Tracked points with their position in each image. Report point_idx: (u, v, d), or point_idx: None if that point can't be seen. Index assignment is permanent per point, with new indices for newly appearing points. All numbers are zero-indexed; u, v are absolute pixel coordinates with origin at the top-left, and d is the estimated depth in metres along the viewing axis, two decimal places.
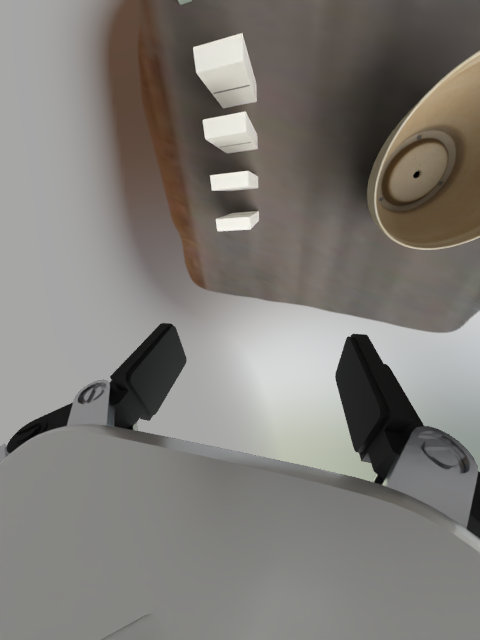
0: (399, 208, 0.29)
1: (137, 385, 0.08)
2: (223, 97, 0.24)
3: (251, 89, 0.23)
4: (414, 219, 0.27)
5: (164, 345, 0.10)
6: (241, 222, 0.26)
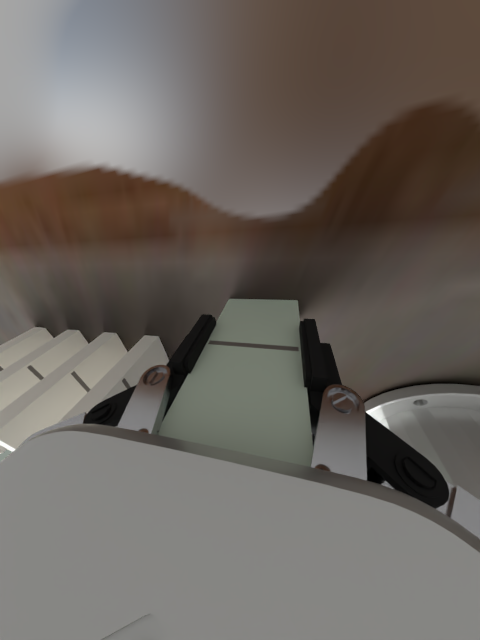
0: None
1: (191, 370, 0.08)
2: None
3: None
4: None
5: (208, 335, 0.10)
6: None
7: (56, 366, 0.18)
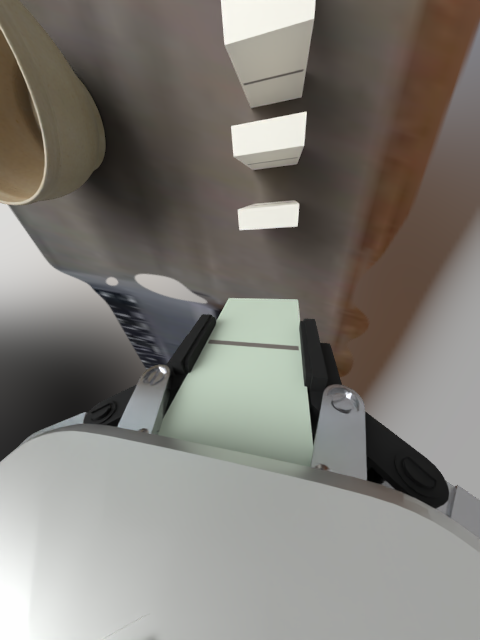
0: None
1: (191, 370, 0.08)
2: None
3: (250, 205, 0.20)
4: None
5: (208, 335, 0.10)
6: None
7: (281, 84, 0.15)
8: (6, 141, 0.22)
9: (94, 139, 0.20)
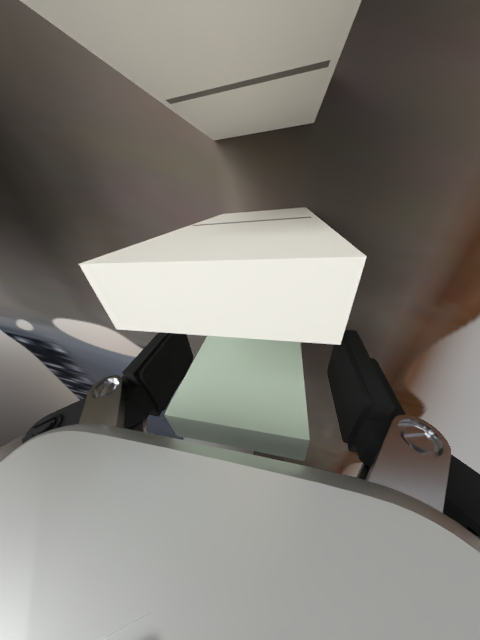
0: None
1: (148, 381, 0.08)
2: (287, 214, 0.08)
3: (202, 222, 0.08)
4: None
5: (173, 342, 0.10)
6: None
7: None
8: None
9: None
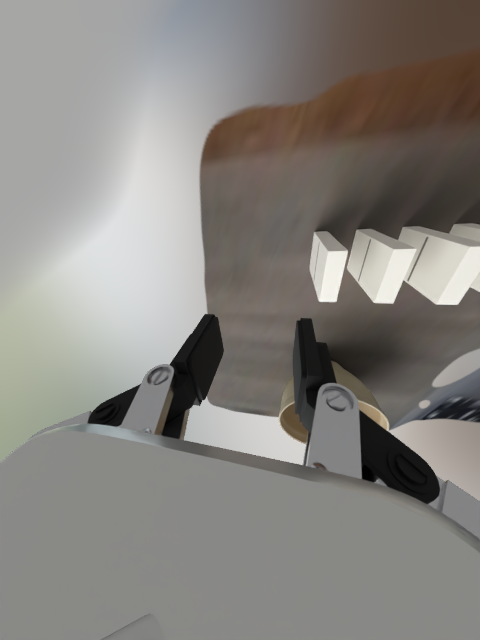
0: None
1: (195, 370, 0.08)
2: None
3: None
4: None
5: (211, 334, 0.10)
6: (331, 290, 0.18)
7: None
8: None
9: (346, 371, 0.31)
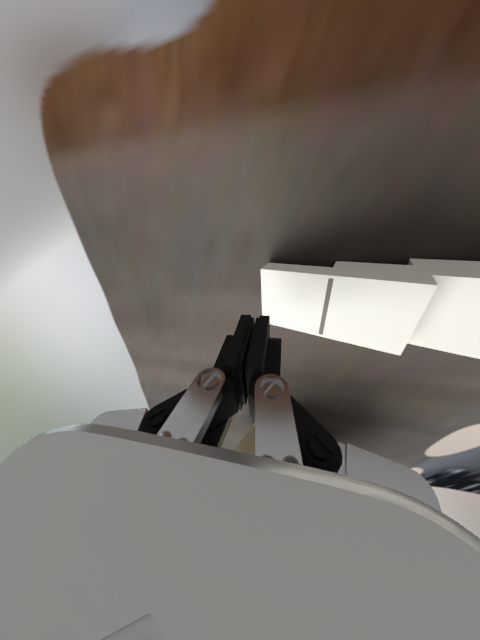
0: None
1: (242, 373, 0.08)
2: None
3: None
4: None
5: (250, 336, 0.10)
6: None
7: None
8: None
9: None
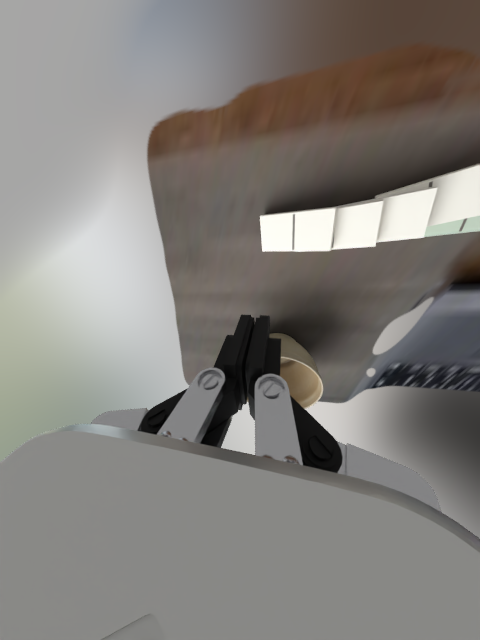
0: None
1: (242, 373, 0.08)
2: None
3: None
4: None
5: (250, 336, 0.10)
6: (332, 239, 0.25)
7: None
8: None
9: (292, 340, 0.35)
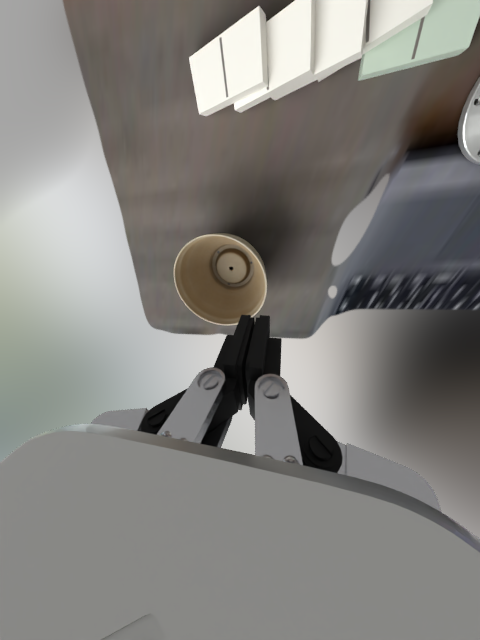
0: (214, 266, 0.40)
1: (242, 373, 0.08)
2: None
3: None
4: (205, 276, 0.39)
5: (250, 336, 0.10)
6: (265, 68, 0.21)
7: None
8: (238, 300, 0.39)
9: None
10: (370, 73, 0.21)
